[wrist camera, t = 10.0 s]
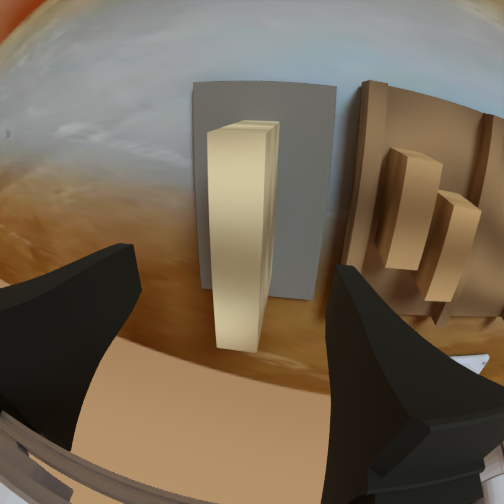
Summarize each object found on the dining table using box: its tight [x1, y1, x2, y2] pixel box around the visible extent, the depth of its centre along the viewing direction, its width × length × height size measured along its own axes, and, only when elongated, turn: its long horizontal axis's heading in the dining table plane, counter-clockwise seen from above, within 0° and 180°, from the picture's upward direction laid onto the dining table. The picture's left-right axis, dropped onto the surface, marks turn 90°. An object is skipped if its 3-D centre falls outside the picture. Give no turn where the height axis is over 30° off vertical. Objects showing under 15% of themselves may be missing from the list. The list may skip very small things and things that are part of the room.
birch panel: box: [207, 120, 279, 353], centre depth 15 cm, size 10×2×7 cm, turn 179°
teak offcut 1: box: [374, 147, 443, 270], centre depth 15 cm, size 6×2×3 cm, turn 178°
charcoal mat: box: [193, 81, 337, 300], centre depth 18 cm, size 14×8×1 cm, turn 179°
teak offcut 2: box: [411, 190, 482, 302], centre depth 15 cm, size 6×2×3 cm, turn 179°
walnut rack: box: [340, 80, 504, 326], centre depth 16 cm, size 15×17×2 cm
